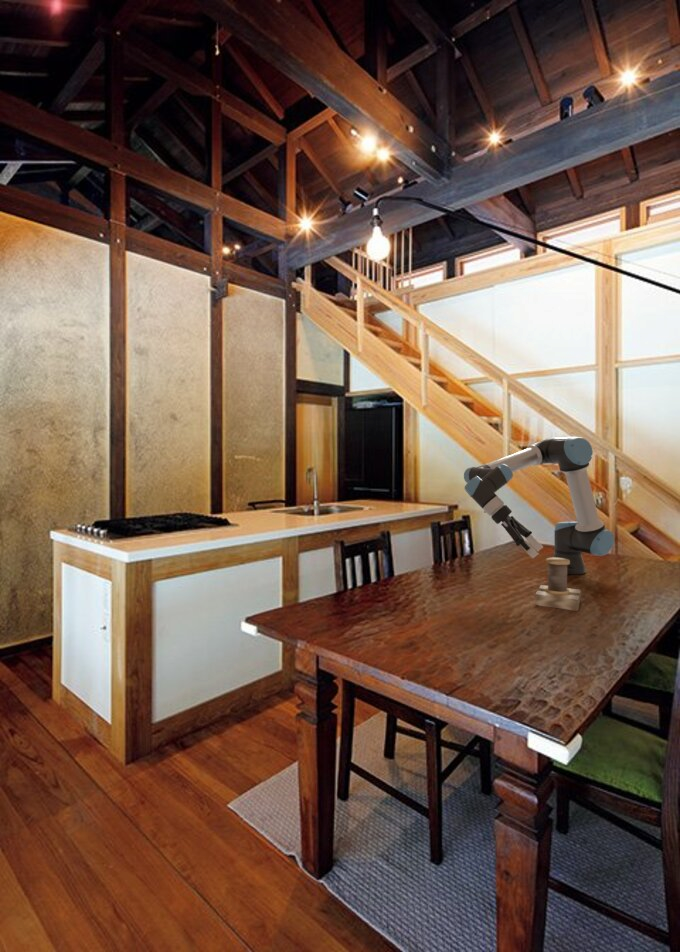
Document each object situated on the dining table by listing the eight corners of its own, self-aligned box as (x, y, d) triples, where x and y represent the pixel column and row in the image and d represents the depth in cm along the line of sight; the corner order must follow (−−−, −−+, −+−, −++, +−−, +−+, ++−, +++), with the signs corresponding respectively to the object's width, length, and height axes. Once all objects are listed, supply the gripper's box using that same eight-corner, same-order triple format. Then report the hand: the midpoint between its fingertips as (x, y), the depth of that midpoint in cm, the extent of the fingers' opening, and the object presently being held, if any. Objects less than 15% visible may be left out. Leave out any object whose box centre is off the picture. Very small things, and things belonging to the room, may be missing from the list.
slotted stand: (535, 604, 182) (535, 594, 182) (540, 595, 194) (540, 584, 194) (577, 610, 175) (577, 599, 175) (580, 600, 187) (580, 589, 187)
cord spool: (540, 590, 186) (541, 558, 186) (555, 587, 190) (556, 556, 189) (558, 596, 179) (559, 563, 178) (574, 593, 183) (574, 560, 182)
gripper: (497, 513, 205) (535, 552, 199) (483, 521, 184) (525, 565, 177) (510, 500, 203) (549, 540, 196) (498, 507, 181) (541, 552, 174)
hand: (538, 552), depth 187 cm, fingers open, 13 cm apart
